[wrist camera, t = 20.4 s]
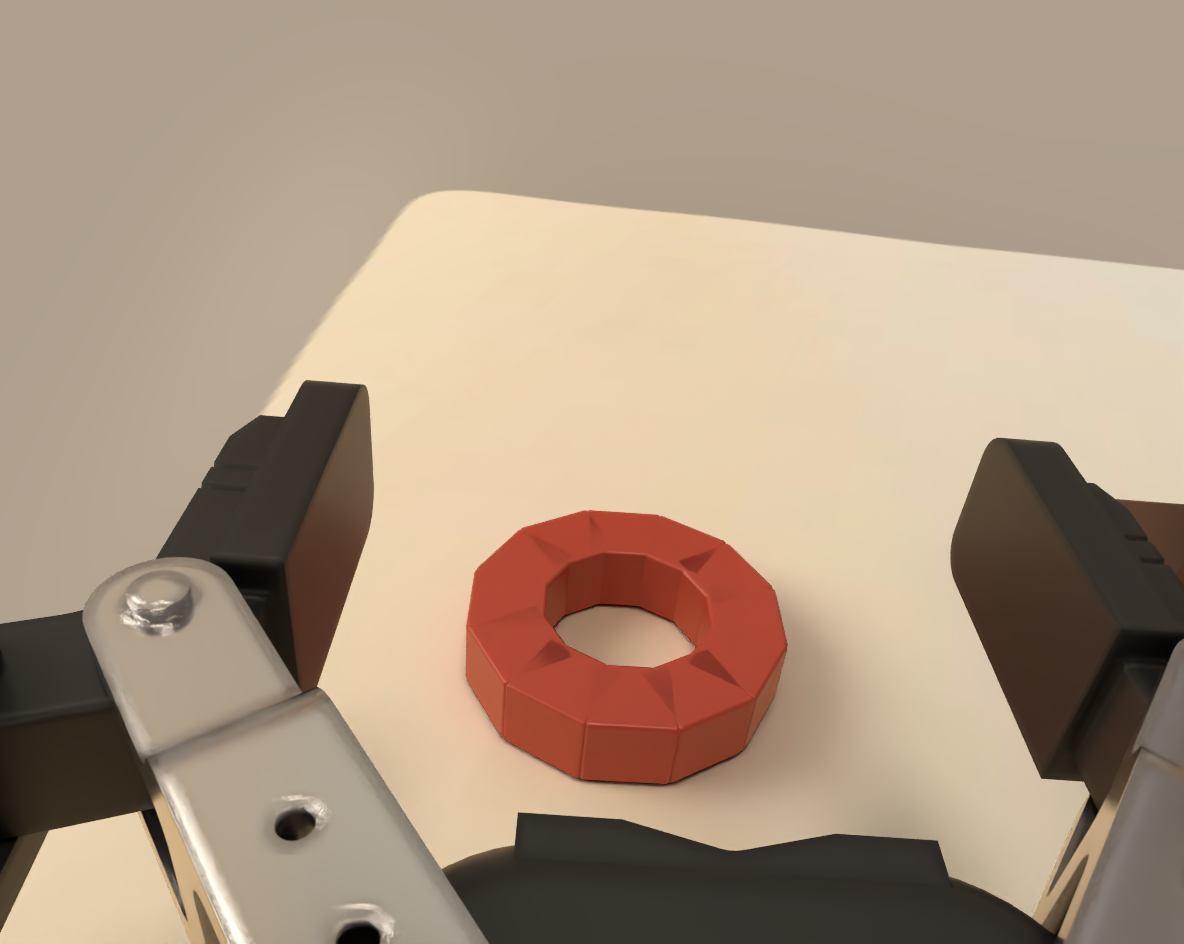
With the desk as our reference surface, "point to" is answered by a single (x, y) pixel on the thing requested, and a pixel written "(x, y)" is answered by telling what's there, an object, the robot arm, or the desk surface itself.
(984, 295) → the desk surface
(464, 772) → the desk surface
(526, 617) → the ring
